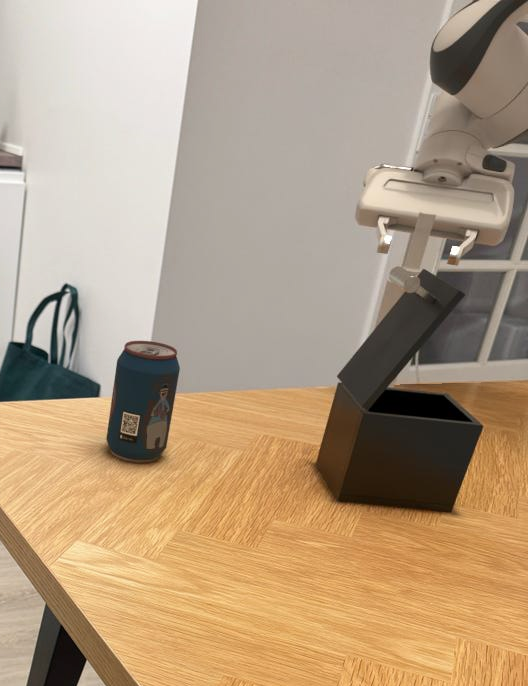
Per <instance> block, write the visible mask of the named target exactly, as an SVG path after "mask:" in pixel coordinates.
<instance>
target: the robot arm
mask: <svg viewBox="0 0 528 686" xmlns="http://www.w3.org/2000/svg"><path fill="white" fill-rule="evenodd" d="M527 16H528V0H472V1H471V2H470V3H468V4H467V5H465V6H464V7H462V8H461V9H460V10H459V11H457V12H456V13H455V14H454V15H453V16H451V17H450V18H449V19H448V20H447V21H446V22H445V23H444V24H443V26H442V27H441V28H440V29H439V31H438V32H437V33H436V35H435V37H434V38H433V41H432V43H431V47H430V53H429V75H430V80H431V82H432V83H433V84H434V85H436V86H437V87H438V88H440V89H441V90H442V91H441V92H440V94H439V96H438V97H437V100H436V102H435V104H434V107H433V110H432V112H431V115H430V117H429V120H428V124H427V128H426V137H425V138H424V140H423V141H422V143H421V145H420V147H419V150H418V153H417V157H416V158H415V162H414V164H413V166H412V167H411V166H405V165H391V164H390V163H381V164H380V165H376V166H374V167H371V168H369V169H368V170H367V172H366V174H365V176H364V179H363V185H362V186H363V189H362V191H361V193H360V196H359V197H358V200H357V203H356V207H355V213H354V219H355V221H356V223H357V224H358V225H359V226H363V227H368V228H375V236H376V238H377V240H378V245H377V248H376V249H377V250H376V253H378V254H383V255H389V252H390V251H389V250H390V248H391V246H392V245H391V244H392V241H393V236H391V235H388V234H387V232H388V231H396V232H401V233H407V234H408V233H409V234H413V235H414V231H415V226H416V223H417V220H418V216H419V213H420V212H427V213H433V214H436V217H435V220H434V223H433V227H432V230H431V232H430V235H429V237H432V238H433V237H434V238H439V239H447V240H453V241H459V242H462V243H461V244H460V245H459V246H455V245H452V247H451V250H450V253H449V255H448V259H447V262H446V264H447V265H451V266H459V264H460V260H461V258H462V257H463V256H464V255H466V254H467V253H469V251H471V250H472V249H473V247H474V244H477V245H484V246H489V247H490V246H491V247H495V246H497V245H499V244H500V243H502V242H503V241H504V239H505V237H506V234H507V231H508V229H509V226H510V223H511V222H510V221H511V219H512V213H513V208H514V200H515V188H514V186H513V184H512V183H513V179H514V176H515V171H516V165H515V163H514V162H512V161H511V160H508V159H505V158H503V157H500V156H499V155H496V154H495V153H492V152H490V151H489V149H499V148H502V147H505V146H508V145H511V144H513V143H516V142H520V141H522V140H524V139H526V138H528V34H527V33H526V32H525V31H524V30H522V29H521V28H520V27H519V25H517V24H518V23H519V22H521V21H522V20H523V19H525V18H526V17H527Z"/></svg>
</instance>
